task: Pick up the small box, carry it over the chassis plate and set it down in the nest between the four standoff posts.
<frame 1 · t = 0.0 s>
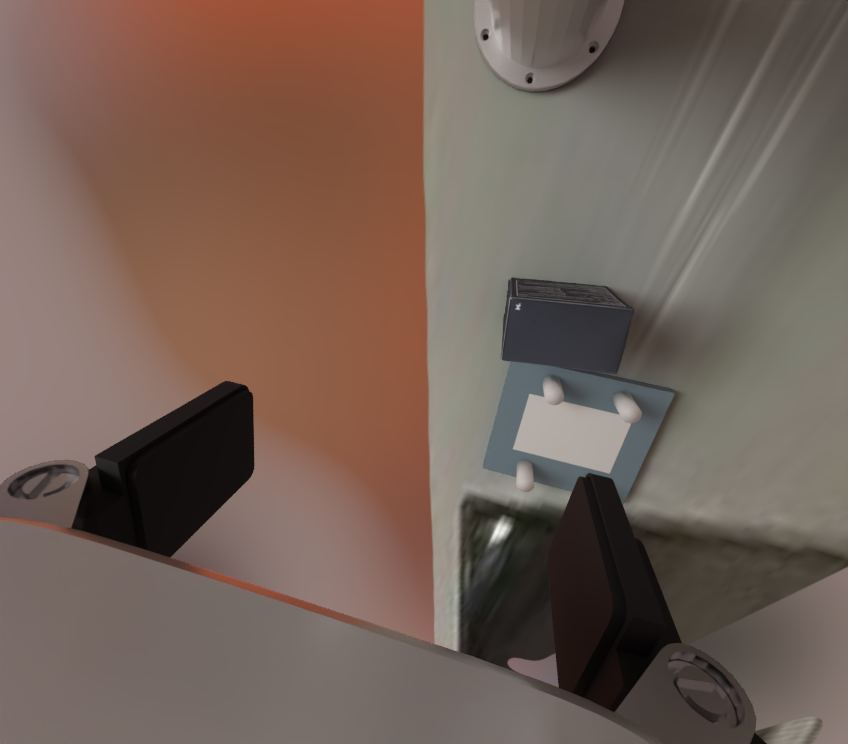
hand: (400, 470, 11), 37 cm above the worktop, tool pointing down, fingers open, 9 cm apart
chassis: (569, 429, 49), on the worktop
small box: (552, 309, 44), on the worktop
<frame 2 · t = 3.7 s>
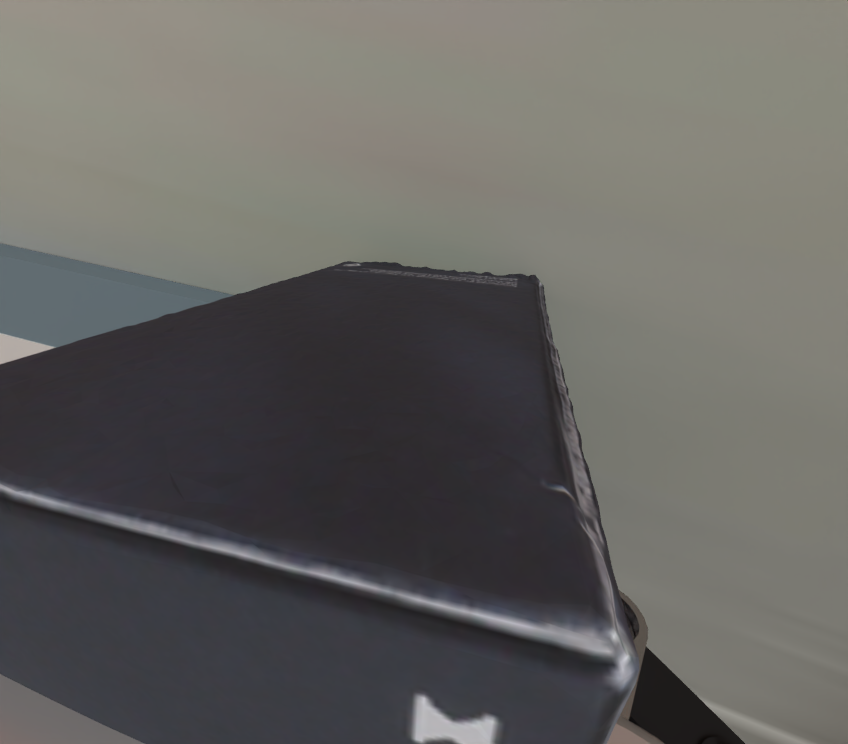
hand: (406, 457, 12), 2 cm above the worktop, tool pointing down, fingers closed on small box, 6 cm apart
chassis: (103, 460, 18), on the worktop
small box: (424, 418, 14), on the worktop, touching gripper
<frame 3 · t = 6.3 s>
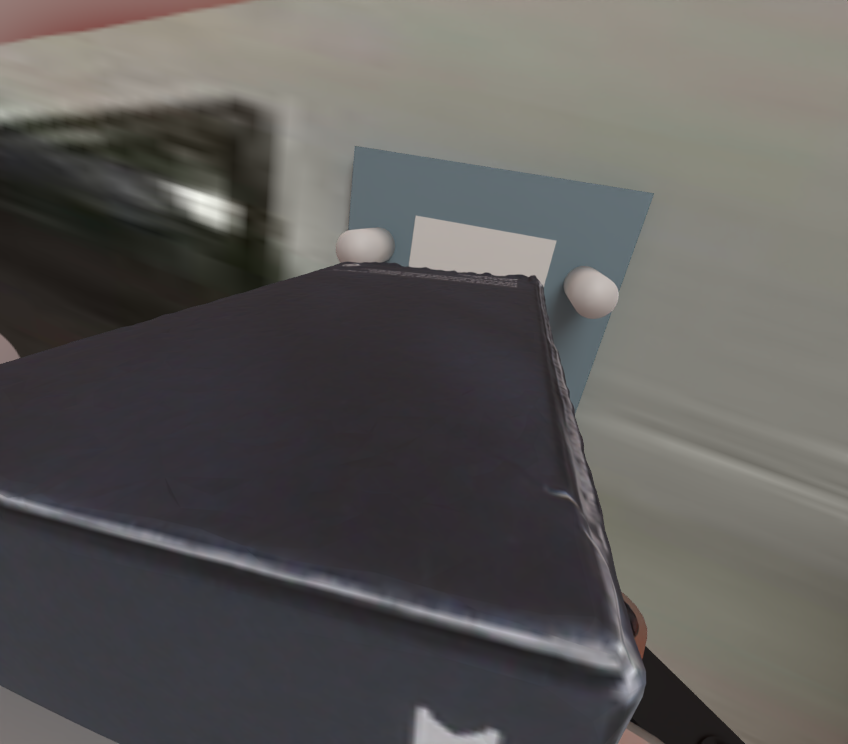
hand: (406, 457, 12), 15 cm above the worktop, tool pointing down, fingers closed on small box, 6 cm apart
chassis: (465, 324, 26), on the worktop
small box: (423, 418, 14), point 13 cm above the worktop, touching gripper
when the fingers open (5 cm above the worktop, at t = 9.0 s): small box drops 1 cm, resting on chassis.
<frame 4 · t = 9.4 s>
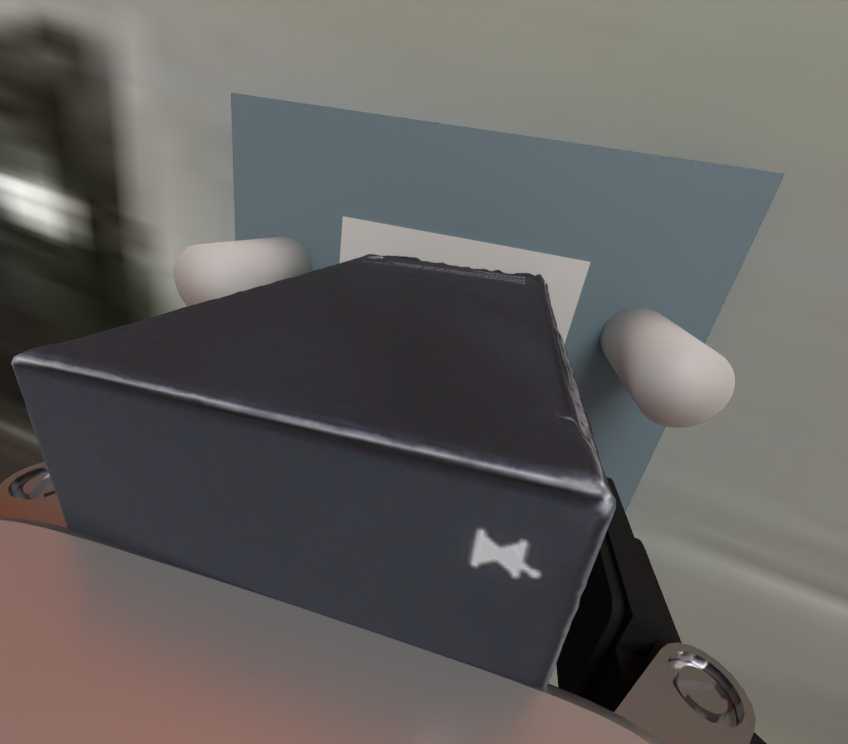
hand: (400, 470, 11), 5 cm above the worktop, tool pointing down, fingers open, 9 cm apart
chassis: (436, 390, 16), on the worktop
small box: (431, 401, 15), point 1 cm above the worktop, touching chassis
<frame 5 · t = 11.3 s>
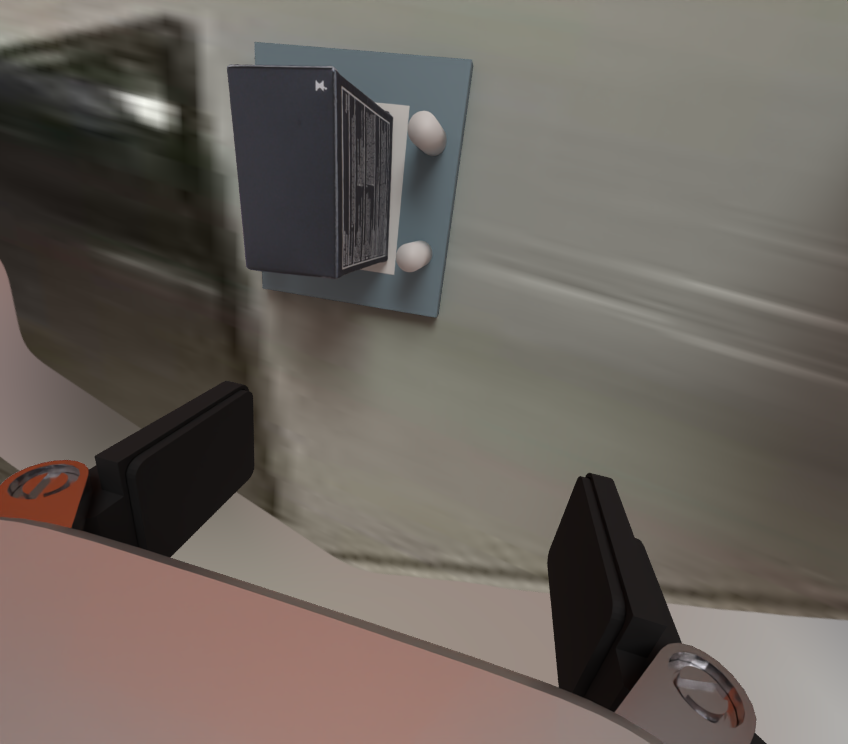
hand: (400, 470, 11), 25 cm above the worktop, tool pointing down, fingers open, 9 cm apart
chassis: (357, 191, 32), on the worktop
small box: (353, 190, 31), point 1 cm above the worktop, touching chassis
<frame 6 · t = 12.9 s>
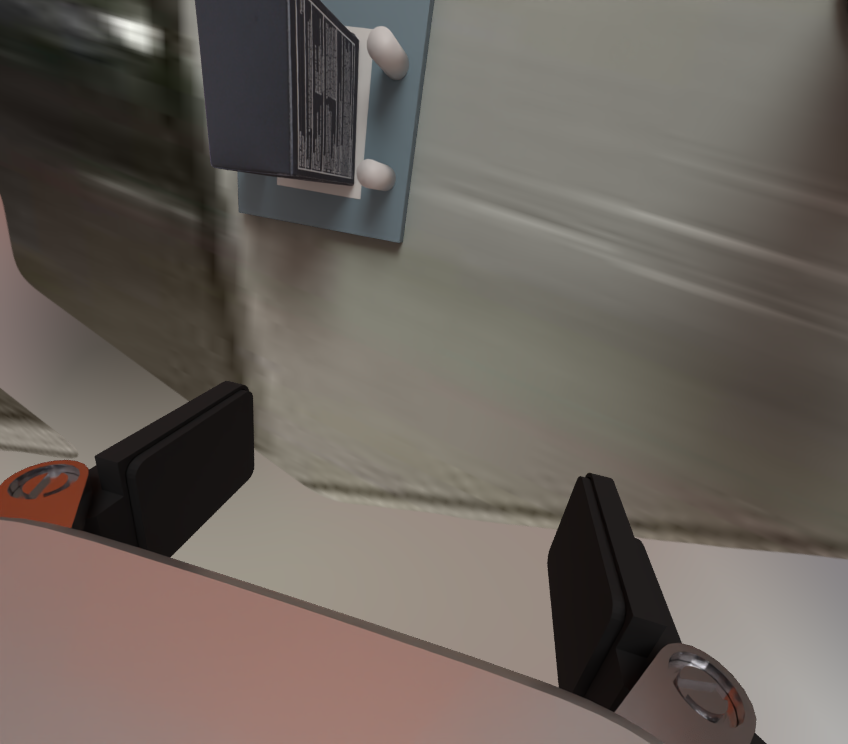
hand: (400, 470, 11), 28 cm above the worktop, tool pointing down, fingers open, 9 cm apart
chassis: (328, 117, 34), on the worktop
small box: (322, 114, 33), point 1 cm above the worktop, touching chassis
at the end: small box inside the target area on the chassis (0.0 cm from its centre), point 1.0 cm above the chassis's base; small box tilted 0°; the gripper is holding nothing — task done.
